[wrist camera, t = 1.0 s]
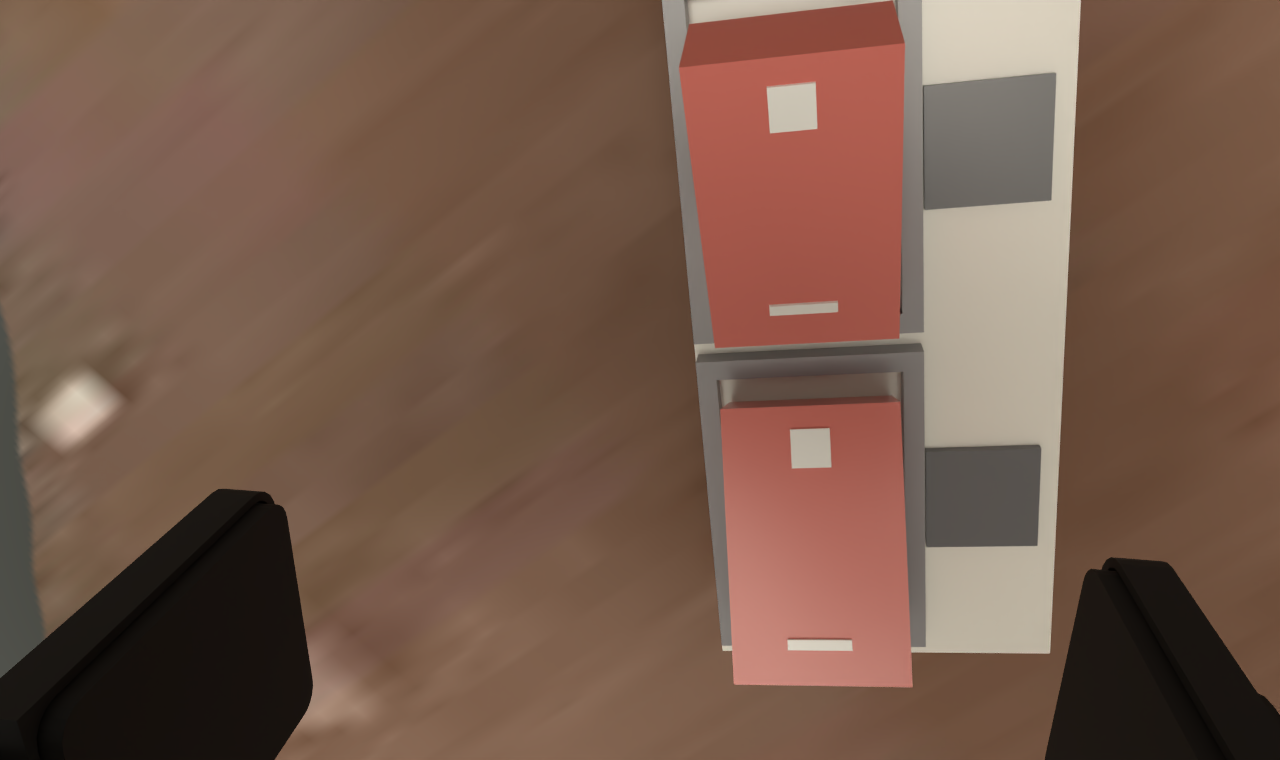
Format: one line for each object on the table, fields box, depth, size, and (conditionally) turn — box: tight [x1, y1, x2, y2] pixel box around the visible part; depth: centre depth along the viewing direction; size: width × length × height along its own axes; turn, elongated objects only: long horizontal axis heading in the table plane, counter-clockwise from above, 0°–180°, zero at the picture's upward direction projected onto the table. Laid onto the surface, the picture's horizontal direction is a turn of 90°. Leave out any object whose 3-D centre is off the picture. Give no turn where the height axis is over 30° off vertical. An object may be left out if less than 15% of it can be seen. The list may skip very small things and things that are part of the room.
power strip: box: [662, 0, 1081, 653], centre depth 30 cm, size 11×26×6 cm, turn 6°
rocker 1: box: [679, 0, 905, 348], centre depth 25 cm, size 5×8×3 cm, turn 7°
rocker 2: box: [720, 395, 913, 687], centre depth 28 cm, size 5×8×3 cm, turn 7°
